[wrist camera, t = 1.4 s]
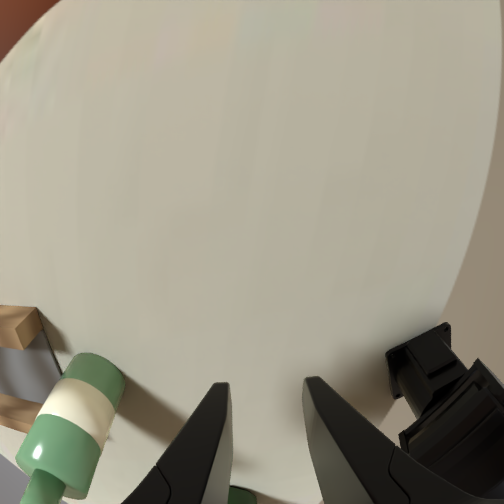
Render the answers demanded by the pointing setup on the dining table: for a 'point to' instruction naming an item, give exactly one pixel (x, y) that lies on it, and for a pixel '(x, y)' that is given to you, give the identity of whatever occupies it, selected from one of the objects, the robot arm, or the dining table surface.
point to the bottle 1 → (71, 431)
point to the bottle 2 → (240, 497)
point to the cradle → (24, 367)
